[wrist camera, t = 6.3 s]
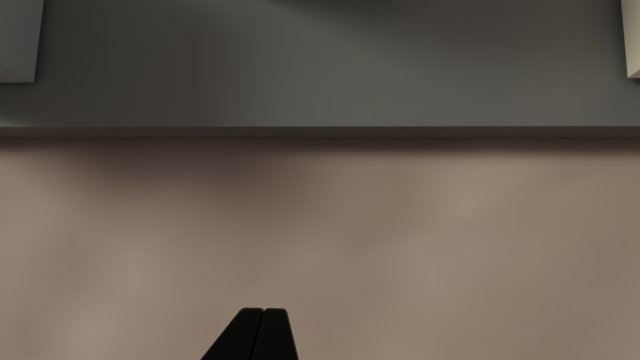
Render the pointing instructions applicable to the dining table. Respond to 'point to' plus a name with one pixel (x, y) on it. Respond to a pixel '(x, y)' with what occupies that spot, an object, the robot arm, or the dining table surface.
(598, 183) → the dining table surface
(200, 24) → the keypad base
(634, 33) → the cream key
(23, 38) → the slate key
